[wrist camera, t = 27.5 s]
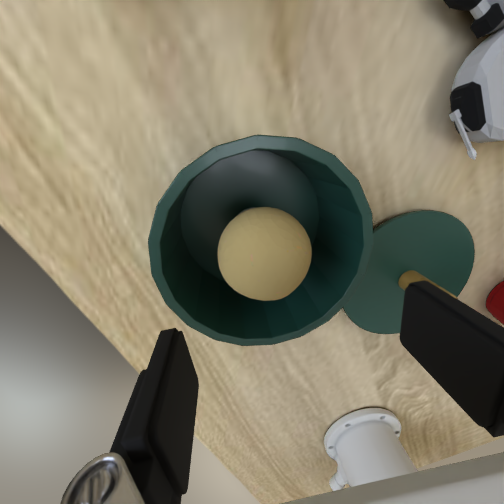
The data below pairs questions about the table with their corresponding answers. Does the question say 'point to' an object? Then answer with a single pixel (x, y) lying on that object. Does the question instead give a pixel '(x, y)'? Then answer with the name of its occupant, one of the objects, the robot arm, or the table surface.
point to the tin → (255, 195)
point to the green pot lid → (410, 266)
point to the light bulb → (264, 253)
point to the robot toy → (480, 77)
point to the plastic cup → (496, 302)
